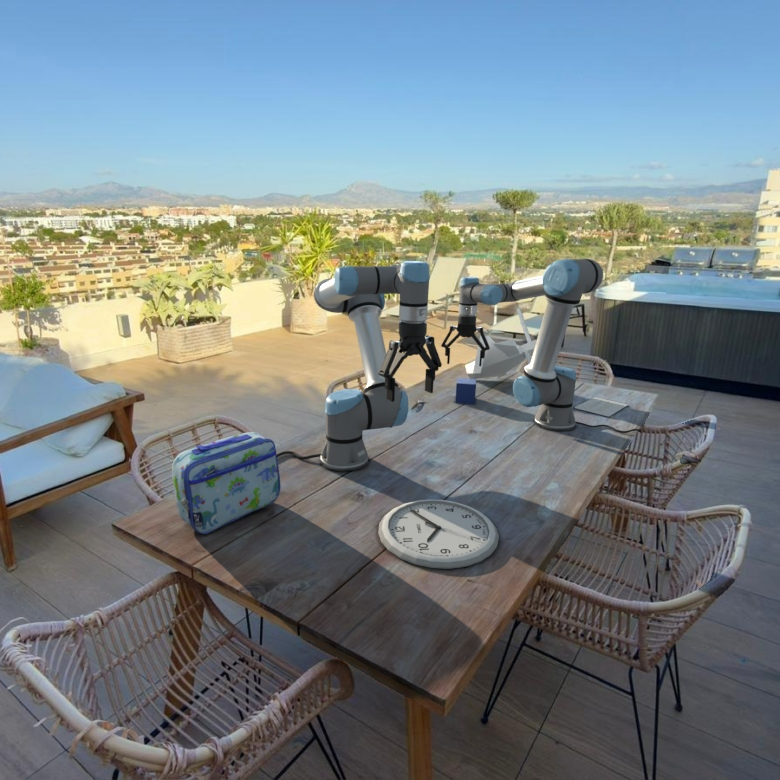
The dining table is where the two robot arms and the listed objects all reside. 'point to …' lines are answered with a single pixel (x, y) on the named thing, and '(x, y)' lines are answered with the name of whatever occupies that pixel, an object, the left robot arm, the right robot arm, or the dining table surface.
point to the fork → (418, 402)
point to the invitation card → (601, 406)
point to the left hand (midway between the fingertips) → (410, 395)
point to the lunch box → (225, 480)
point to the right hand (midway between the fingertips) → (464, 364)
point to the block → (465, 390)
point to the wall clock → (438, 534)
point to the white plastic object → (501, 356)
